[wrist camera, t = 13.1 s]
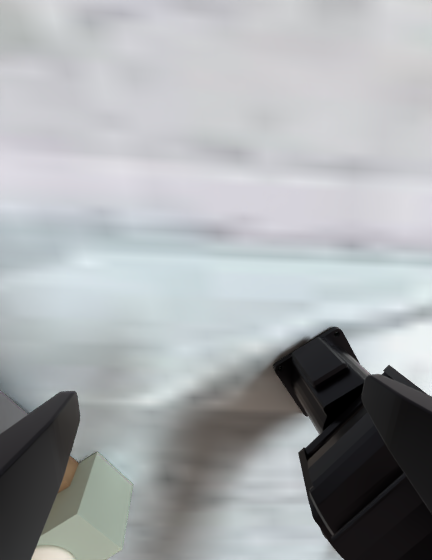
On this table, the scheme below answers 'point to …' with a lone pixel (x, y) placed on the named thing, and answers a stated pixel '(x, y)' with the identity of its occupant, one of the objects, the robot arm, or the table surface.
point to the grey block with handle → (9, 412)
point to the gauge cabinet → (87, 515)
